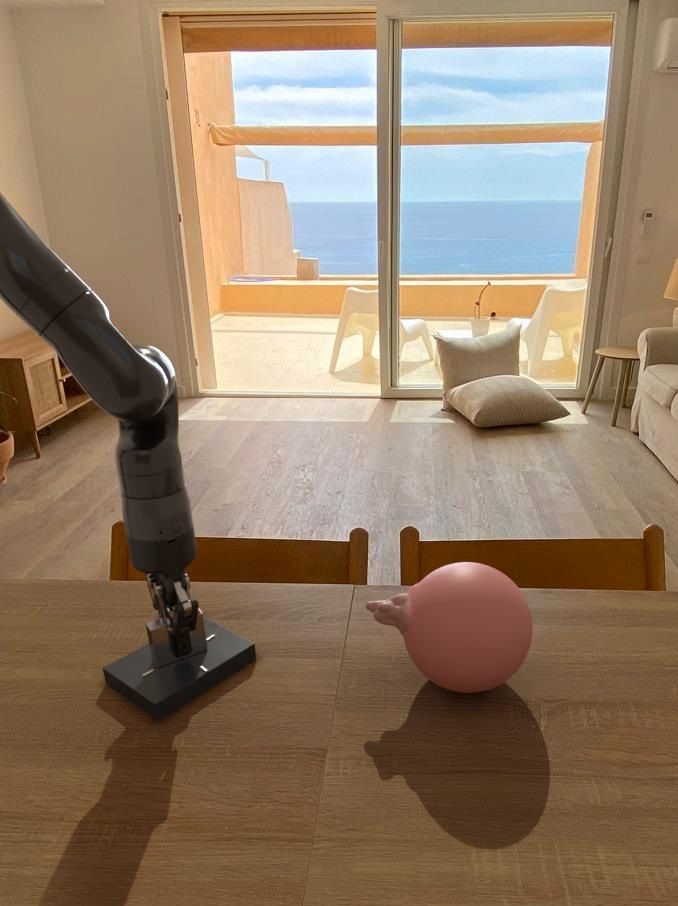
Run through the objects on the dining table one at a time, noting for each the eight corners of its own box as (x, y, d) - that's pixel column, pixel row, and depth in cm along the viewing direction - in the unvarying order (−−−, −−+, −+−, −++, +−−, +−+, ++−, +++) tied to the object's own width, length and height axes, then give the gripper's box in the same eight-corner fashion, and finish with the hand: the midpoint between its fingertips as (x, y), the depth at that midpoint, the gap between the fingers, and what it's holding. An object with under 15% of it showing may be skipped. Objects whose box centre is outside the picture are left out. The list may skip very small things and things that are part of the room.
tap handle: (157, 668, 85) (150, 628, 82) (152, 660, 86) (145, 621, 84) (207, 649, 88) (202, 611, 86) (202, 642, 90) (196, 604, 87)
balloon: (382, 632, 96) (381, 532, 89) (530, 650, 91) (539, 546, 85) (352, 704, 82) (347, 592, 76) (524, 730, 78) (534, 613, 71)
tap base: (158, 721, 80) (154, 703, 79) (105, 684, 86) (101, 666, 85) (256, 659, 90) (254, 642, 89) (203, 630, 97) (201, 614, 96)
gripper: (109, 512, 83) (132, 634, 90) (145, 555, 73) (168, 689, 80) (170, 497, 87) (188, 615, 94) (213, 536, 77) (229, 666, 84)
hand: (179, 649), depth 87 cm, fingers closed on tap handle, 2 cm apart
